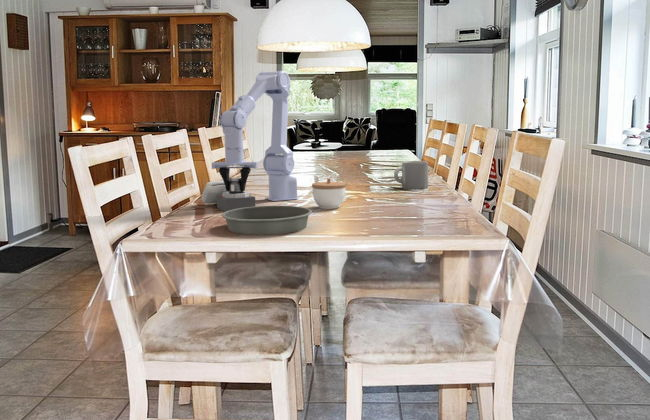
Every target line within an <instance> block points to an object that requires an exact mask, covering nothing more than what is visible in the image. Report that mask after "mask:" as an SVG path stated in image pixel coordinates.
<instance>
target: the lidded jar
mask: <svg viewBox="0 0 650 420" xmlns="http://www.w3.org/2000/svg"><path fill="white" fill-rule="evenodd" d="M346 185H347V184H346V182H342V181H331V178H330V177H329V178H328V177H327V178H326V181H318V182H314V183H311V188H312V196H313V200H314V202H315V204H316V205H317V206H318V207H319V209H324V210H332V209H333V210H335V209H338V208H339V207H340V206H341V205H342V204H343V202H344V200H345V197H346Z"/></svg>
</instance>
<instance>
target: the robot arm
mask: <svg viewBox="0 0 650 420" xmlns="http://www.w3.org/2000/svg"><path fill="white" fill-rule="evenodd" d="M290 90H291V78H290V76H289V74H288V73H287V72H286V71H285V70H279V71H278V70H276V71H275V70H274V71H259V72H258V75H256V77H255V82H254V84H253V85H252V87H251V88H250V89H249V91H248V92H247V94H244V95H240V96H238V98H237V100H236V101H235V103H233V105H232V106H231V107H230V109H229V110H225V111H223V113H222V114H221V116H220V119H219V124H220V126H221V128H222V132H223V134H224V152H225V154H224V155H225V157H224V158H225V161H215V162H214V161H213V162H211V169H213V170H214V169H215V170H216V169H219V170H218V173H219V175H220V176H221V178H222V179H221V180H223V181H224V184H225V187H226V191H229V178H230V171H231V169H240V170H239V171H240V178H241V191H246V185H247V181H248V177H249V175H250V173H251V171H252V170H251V169H258V162H257V161H244V137H243V129H244V128H245V127H246V125H247V120H248V117H249V115H250V114H251V113H252V112H253V110H254V109H255V107H256V102H257V101H258V99H260V98H261V96H263V95H264V94H265V95H266V96H268V97H270V98H271V100H272V112H271V113H272V116H271V117H272V118H271V138H270V139H271V140H270V141H271V142H270V143H271V144H270V146H269V147H268V148H267V149H266V150H265V151H264V157H263V161H262V166H263V169H264V171H265V172H266V175H268V196H265V198H264V199H266V200H269V201H272V202H277V201H287V200H289V201H290V200H291V201H292V200H299V197H298V182H297V176H296V174H295V173H292V172H293V171H294V168H295V160H294V152H293V151H292V150H291V149H290V148H289V147H288V146H287V142H288V141H287V140H288V139H287V136H288V120H289V119H288V118H289V116H288V115H289V96H290V94H291V93H290Z"/></svg>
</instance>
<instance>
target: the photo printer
mask: <svg viewBox="0 0 650 420" xmlns="http://www.w3.org/2000/svg"><path fill="white" fill-rule="evenodd" d="M224 192H229V191H226V187H225V184H224V181H223V179H221V180H214V181H209V182H206V184H205V187H204V188H203V191H202V195H201V201H202V203H203V204H205V205H210V204H212V205H213V204H217V196H221V195H222V193H224Z"/></svg>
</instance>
